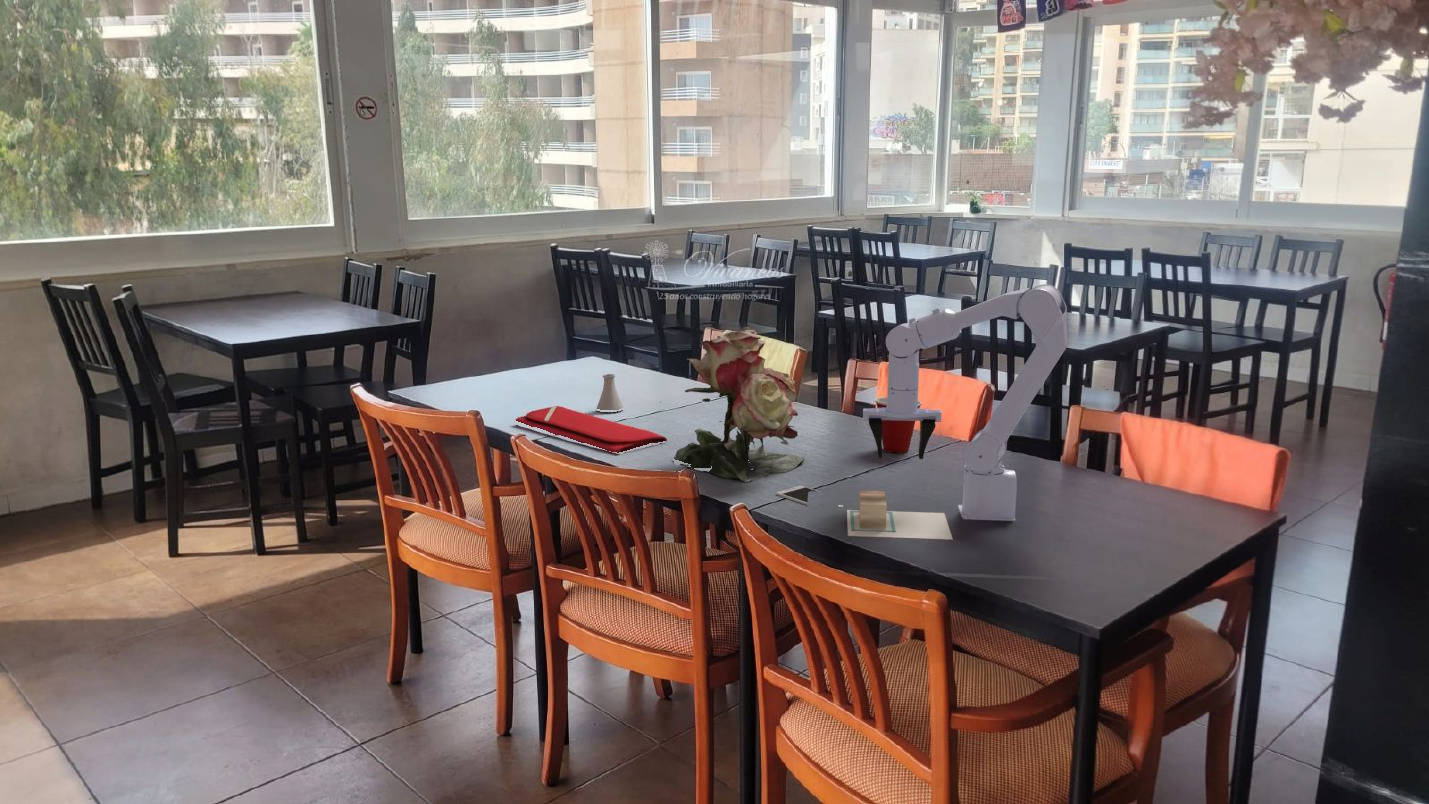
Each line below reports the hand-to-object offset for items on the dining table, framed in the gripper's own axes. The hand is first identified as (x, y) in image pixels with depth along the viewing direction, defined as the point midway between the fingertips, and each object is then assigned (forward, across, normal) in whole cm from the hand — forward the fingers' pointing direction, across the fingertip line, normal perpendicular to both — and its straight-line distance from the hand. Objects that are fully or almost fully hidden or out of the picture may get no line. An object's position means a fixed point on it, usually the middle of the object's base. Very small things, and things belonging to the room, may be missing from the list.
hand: (900, 457), depth 192 cm
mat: (+9, +1, +13) cm, 16 cm away
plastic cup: (+10, -2, -40) cm, 41 cm away
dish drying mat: (+10, +73, -48) cm, 88 cm away
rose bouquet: (+10, +32, -26) cm, 42 cm away
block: (+9, +6, +12) cm, 16 cm away
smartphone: (+10, +16, -1) cm, 19 cm away
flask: (+10, +73, -73) cm, 104 cm away
